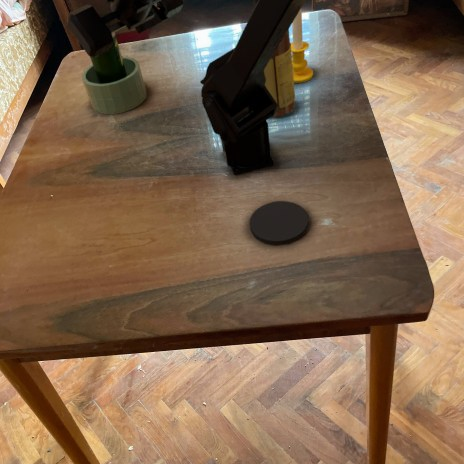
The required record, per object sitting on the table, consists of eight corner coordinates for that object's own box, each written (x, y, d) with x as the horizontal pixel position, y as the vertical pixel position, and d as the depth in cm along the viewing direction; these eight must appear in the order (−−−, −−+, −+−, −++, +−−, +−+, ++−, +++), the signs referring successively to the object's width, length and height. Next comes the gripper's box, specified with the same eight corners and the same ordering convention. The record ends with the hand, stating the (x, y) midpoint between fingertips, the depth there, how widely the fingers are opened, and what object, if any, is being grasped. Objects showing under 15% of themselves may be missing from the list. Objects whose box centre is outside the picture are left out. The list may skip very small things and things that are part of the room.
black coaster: (297, 199, 74) (297, 195, 73) (316, 236, 69) (316, 231, 68) (243, 213, 73) (243, 209, 73) (258, 251, 68) (258, 247, 68)
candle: (280, 81, 95) (274, -13, 83) (291, 67, 97) (287, -26, 85) (306, 84, 93) (304, -11, 81) (317, 70, 95) (317, -25, 83)
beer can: (112, 107, 96) (89, 41, 87) (100, 97, 99) (77, 32, 90) (137, 96, 97) (118, 30, 88) (125, 86, 100) (105, 21, 91)
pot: (143, 79, 102) (135, 51, 98) (150, 105, 95) (142, 76, 91) (90, 92, 102) (80, 64, 97) (94, 119, 95) (83, 91, 91)
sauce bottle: (293, 97, 91) (288, -31, 75) (297, 116, 87) (292, -15, 71) (256, 102, 91) (243, -24, 76) (258, 122, 87) (245, -7, 72)
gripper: (154, -95, 75) (129, -22, 89) (46, -49, 68) (38, 22, 82) (200, -25, 77) (168, 35, 91) (101, 26, 70) (83, 83, 84)
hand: (116, 42), depth 87 cm, fingers open, 9 cm apart
